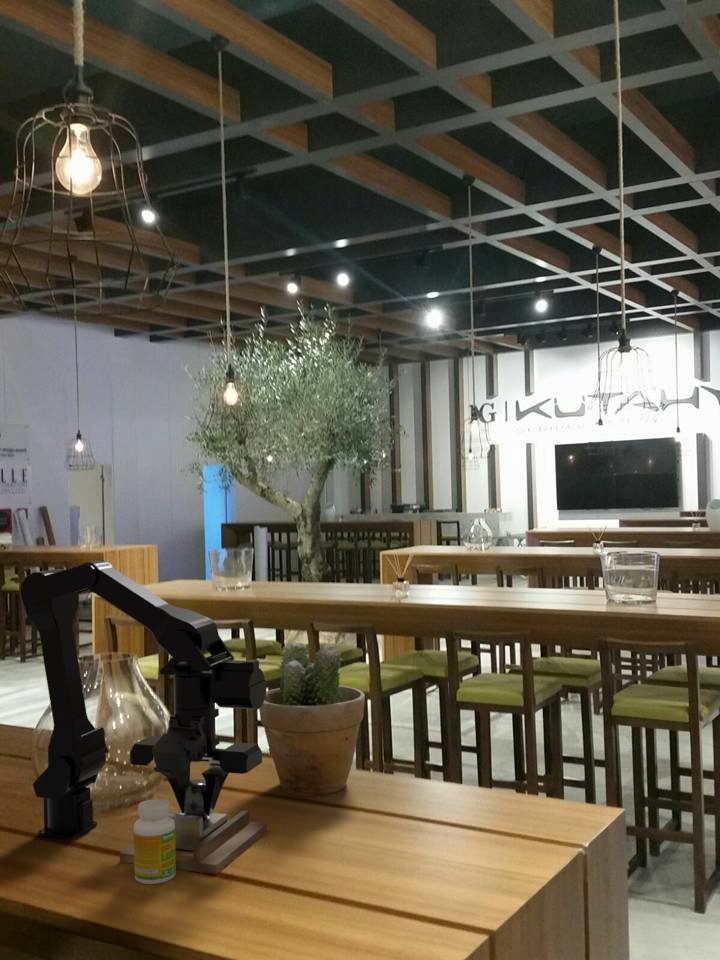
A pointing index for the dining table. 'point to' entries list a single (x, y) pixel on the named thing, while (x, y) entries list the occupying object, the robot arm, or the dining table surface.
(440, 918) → the dining table surface
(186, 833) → the metal press slider
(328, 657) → the potted plant
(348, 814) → the dining table surface
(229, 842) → the press bed
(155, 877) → the supplement bottle
